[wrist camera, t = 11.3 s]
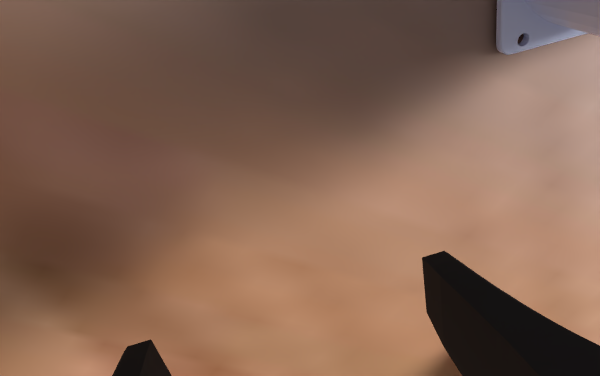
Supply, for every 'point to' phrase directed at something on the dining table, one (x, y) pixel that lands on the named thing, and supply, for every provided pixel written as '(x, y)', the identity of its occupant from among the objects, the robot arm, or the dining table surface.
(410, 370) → the dining table surface
